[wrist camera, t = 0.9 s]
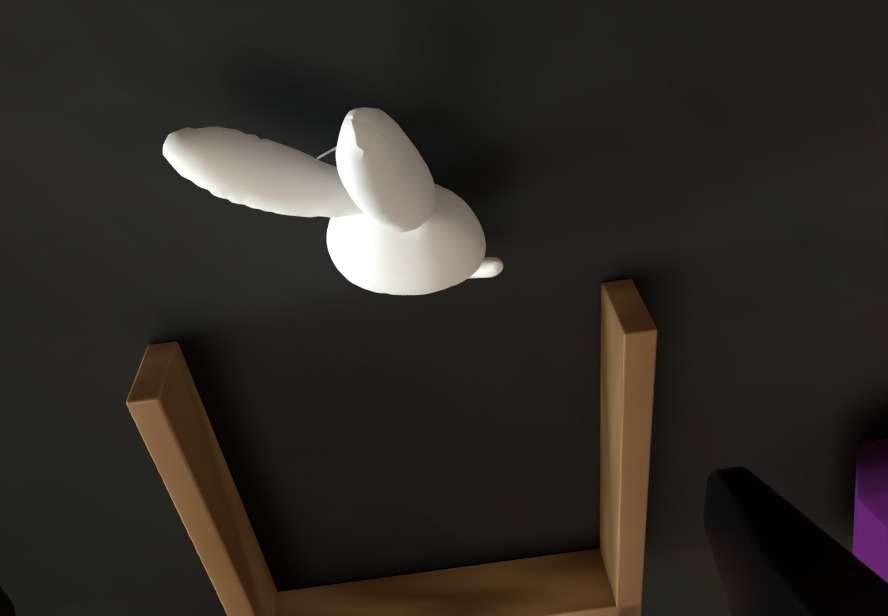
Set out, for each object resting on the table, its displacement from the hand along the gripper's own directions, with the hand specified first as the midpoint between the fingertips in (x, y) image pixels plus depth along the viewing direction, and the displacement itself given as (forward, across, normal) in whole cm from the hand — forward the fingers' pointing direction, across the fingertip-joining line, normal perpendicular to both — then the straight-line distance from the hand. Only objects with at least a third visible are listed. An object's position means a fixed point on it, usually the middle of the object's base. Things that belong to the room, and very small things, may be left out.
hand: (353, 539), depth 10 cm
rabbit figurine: (+12, 0, 0) cm, 12 cm away
